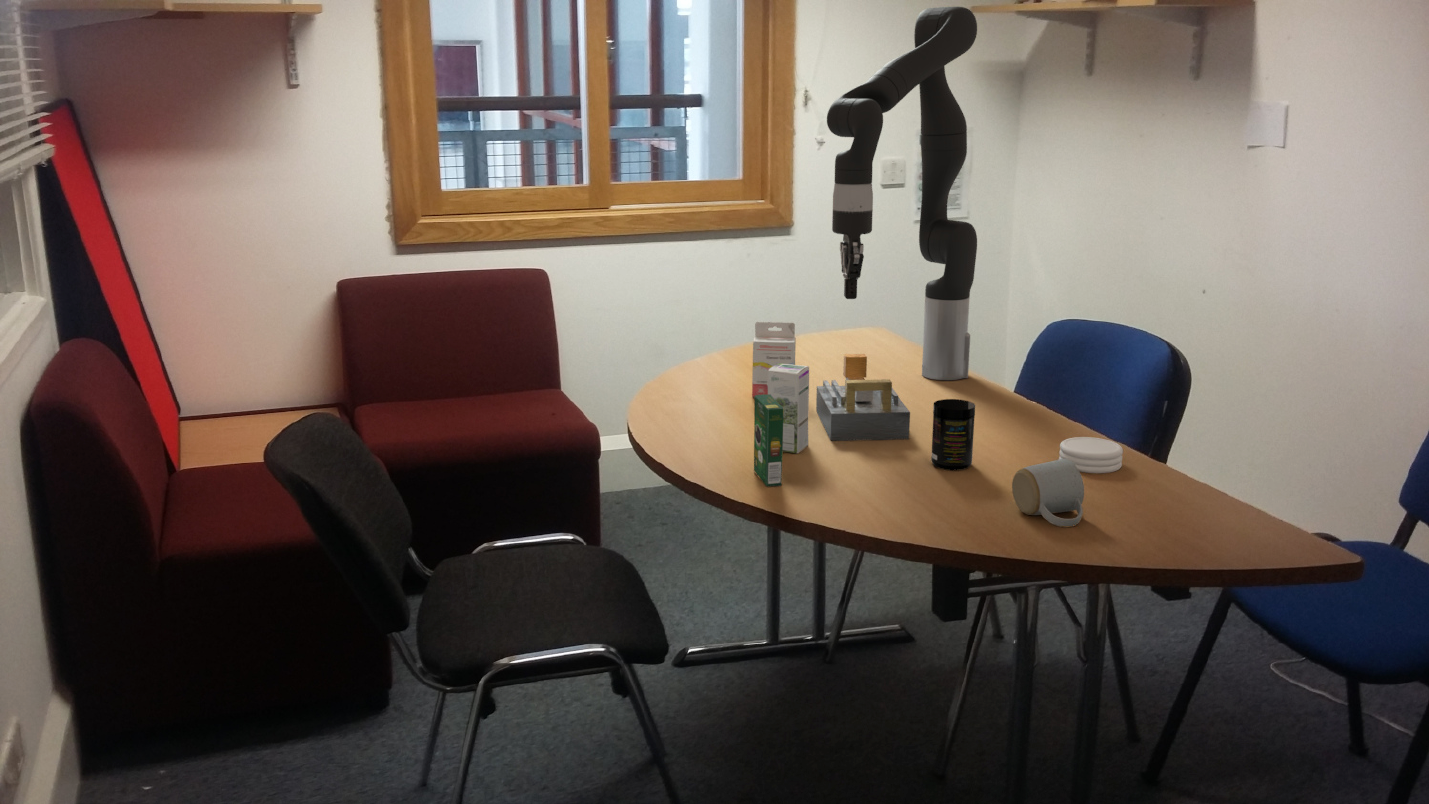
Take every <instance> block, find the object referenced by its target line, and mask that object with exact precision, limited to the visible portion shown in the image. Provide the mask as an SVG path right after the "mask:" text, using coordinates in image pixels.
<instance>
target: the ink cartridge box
mask: <svg viewBox="0 0 1429 804" xmlns="http://www.w3.org/2000/svg"><path fill="white" fill-rule="evenodd" d="M774 327H775V328H778V329H781V330H769V329H771V328H774ZM754 329H755V330H754V331H755V336H754V337H753V342H752V376H751V377H752V380H751V382H752V383H751V384H752V385H751V386H752V389H751V391H752V393H751V397H752V398H754V397H755V395H768V370H769V369H770V368H771V367H773V366H774V365H776V364H779V363H781V364H791V365H796V346H797V345H796V342H797V338H796V336H795V331H796V324H795V323H794V322H782V321H781V322H780V321H779V322H778V321H774V322H773V321H756V322H755V326H754Z"/></svg>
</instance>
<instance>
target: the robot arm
mask: <svg viewBox="0 0 1429 804" xmlns="http://www.w3.org/2000/svg"><path fill="white" fill-rule="evenodd" d="M913 36H914V37H913V38H914V48H913V49H911V50H908V51H907V52H905V53H903V54H901V55H899V56H897V57H895V58H893V59H891V60H890V61H888V62H887V63H885V64H884V65H883V66H881V68H880V69H878V70H877V71H876V72H875V73H874V74H873V75H872V76H871V77H869V79H867V81H865V82H864V83H861V84H860V85H858V86H856V87H854V88H852V89H850V90H849V91H847V92H845V93H844V94H841V95H840V96H839V97H838V98H836V99H835V100H834V102H833V103H832V104H831V105H830V107H829V109H828V111H827V114H826V125H827V128H828V130H829V131H830V132H831V133H832V134H833V135H835V136H836V137H841V138H853V139H852V143H851V145H850V148H849V149H846V150H843V151H840V152H838V153H837V154H836V155H835V161H834V186H833V193H832V220H831V221H832V223H831V227H832V228H831V230H832V232H833V234H837V235H843V236H842V237H843V239H842V241H840V242H839V251H840V264H841V273H842V276H843V279H844V281H843V283H844V284H843V285H844V287H843V288H844V290H843V296H844V298H845V299H847V300H856V299H857V297H858V280H859V278H861V275H862V274H861V273H862V268H863V261H864V258H865V255H864V247H865V246H864V243H862V240H861V236H862V235H868V234H871V233H872V231H873V213H874V212H873V211H874V210H873V205H874V193H873V161H874V158H875V155H876V151H877V148H878V144H879V141H880V137H881V133H882V131H883V130H882V129H883V128H884V127H883V126H884V115H883V114H884V113H888V112H890V111H891V110H892V109H893V108H895V107H896V105H898V104H899V103H900V102H901V101H902V100H903V99H904V98H905V97H907V95H908V94H909V93H910V92H912V91H913V90H914V89H915V88H916V87H917V86H918V85H919V102H920V103H919V104H920V107H919V108H920V151H921V152H920V156H921V201H920V203H921V204H920V205H921V206H920V216H919V217H920V218H919V231H918V243H919V250H920V253H921V256H922V257H923V259H924V260H926V261H927V262H930V263H934V264H940V265H944V271H943V275H942V276H941V277H940V278H937V279H933V280H930V281H928V282H927V283H926V284H925V285H926V286H925V292H924V295H925V296H924V298H925V299H924V318H923V320H924V321H923V339H922V340H923V341H922V343H923V344H922V359H921V360H922V361H921V362H922V363H921V376H922V377H925V378H927V379H931V380H937V381H958V380H961V379H969V368H970V352H971V351H970V348H971V347H970V346H971V334H970V333H969V314H970V313H969V312H970V294H971V289H972V286H973V284H974V279H975V272H976V271H975V270H976V260H977V251H978V236H977V232H976V228H975V227H974V226H973V225H972V223H970V222H967V221H963V220H961V221H960V220H952V219H949V218H948V200H949V195H950V191H951V189H952V186H953V184H954V182H955V181H956V179H957V177H958V175H959V173H960V172H961V170H962V167H964V163H965V161H966V158H967V154H968V132H967V130H968V126H967V121H966V117H965V115H964V113H963V110H962V108H961V106H960V104H959V103H958V101H957V100H956V98H955V96H954V94H953V92H952V90H951V89H950V88H951V87H950V86H949V83H948V80H947V76H946V70H945V69H946V68H945V66H946V65H948V64H949V63H951V62H953V61H954V60H956V59H957V58H960V57H961V56H962V55H964V54H965V53H967V52H968V51H969V50H970V49H971V48H972V47H973V45H974V44H975V41H976V38H977V36H978V22H977V18H976V16H975V14H974V13H973V11H972V10H971V9H969V8H968V7H964V6H945V7H944V6H941V7H929V8H925V9H922V11H920V13H919V14H918V16H917V18H916V20H915V25H914V35H913Z"/></svg>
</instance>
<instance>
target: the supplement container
mask: <svg viewBox="0 0 1429 804" xmlns="http://www.w3.org/2000/svg"><path fill="white" fill-rule="evenodd" d="M932 409H933V411H932V414H933V415H932V416H933V417H932V418H933V419H932V435H931V437H932V438H931V439H932V440H931V457H930V458H931V459H930V461H931V463H932V465H933V466H934V467H935V468H938V469H940V470H946V471H963V470H966V469H969V468H970V467H971V466H972V463H973V454H974V453H973V451H974V450H973V448H974V431H975V416H976V404H975V403H974V402H973V401H968V400H965V399H956V398H946V399H939V400H936V401H934V402H933V408H932Z"/></svg>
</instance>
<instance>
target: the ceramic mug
mask: <svg viewBox="0 0 1429 804" xmlns="http://www.w3.org/2000/svg"><path fill="white" fill-rule="evenodd" d="M1011 489H1012V491H1011V492H1012V497H1013V499H1014V502H1015V504H1016V506H1017V508H1018V509H1020V511H1021V512H1022V513H1024V514H1025V515H1031V516H1042V517H1043V518H1044V519H1045V520H1047V522H1048V523H1050V524H1052V525H1054V526H1057V527H1061V526H1071V527H1074V526H1073V525H1075V526H1076V524H1077V525H1078V524H1079V523H1080V522H1081V519H1082V517H1083V513H1084V512H1083V505H1082V504H1083V502H1084V497H1085V484H1084V481H1083V476H1082V474H1081V472H1080V471H1079V470H1078V468H1077V467H1076V465H1075V464H1074V463H1073V462H1072V461H1070V460H1068V459H1059V458H1058V459H1056V460H1052V461H1046V462H1042V463H1038V464H1033V465H1028V466H1026V467H1022V468H1021V469H1019V470H1017V471H1016V472H1015V473H1014V475H1013V478H1012V482H1011ZM1074 511H1076V513H1077V516H1076V517H1074V518H1063V517H1062V518H1061V517H1058V516H1057V515H1054V514H1057V513H1064V512H1065V513H1066V512H1067V513H1068V512H1074Z"/></svg>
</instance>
